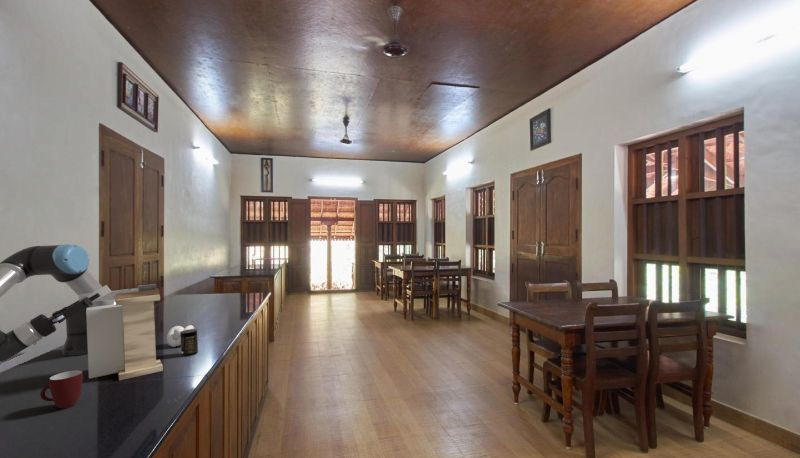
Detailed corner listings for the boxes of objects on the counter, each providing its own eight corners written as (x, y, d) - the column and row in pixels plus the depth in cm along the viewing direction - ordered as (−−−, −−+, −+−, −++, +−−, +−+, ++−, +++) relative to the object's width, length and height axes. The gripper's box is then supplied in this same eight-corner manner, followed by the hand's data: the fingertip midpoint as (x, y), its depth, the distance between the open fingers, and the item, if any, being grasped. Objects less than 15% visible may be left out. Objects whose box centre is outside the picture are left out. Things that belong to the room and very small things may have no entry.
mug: (35, 416, 115) (34, 383, 115) (45, 406, 122) (43, 375, 122) (80, 407, 120) (78, 376, 120) (86, 398, 127) (85, 368, 127)
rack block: (89, 372, 152) (86, 307, 152) (123, 365, 158) (121, 303, 158) (88, 378, 145) (86, 310, 145) (124, 371, 152) (121, 306, 152)
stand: (118, 373, 150) (115, 292, 150) (159, 364, 159) (156, 287, 159) (119, 380, 142) (115, 295, 142) (162, 370, 151) (159, 290, 151)
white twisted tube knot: (200, 344, 186) (199, 325, 186) (172, 350, 178) (171, 331, 178) (191, 340, 194) (191, 322, 194) (165, 346, 185) (164, 327, 185)
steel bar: (79, 302, 141) (78, 291, 141) (156, 293, 156) (155, 283, 156) (79, 303, 138) (78, 292, 138) (156, 294, 153) (156, 284, 153)
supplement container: (201, 353, 172) (200, 330, 172) (186, 357, 166) (185, 333, 166) (193, 351, 176) (192, 328, 176) (178, 355, 170) (177, 332, 170)
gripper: (46, 333, 140) (114, 293, 152) (41, 342, 127) (115, 298, 140) (32, 317, 138) (102, 278, 150) (25, 325, 125) (102, 282, 137)
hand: (108, 288), depth 145 cm, fingers closed on steel bar, 3 cm apart
